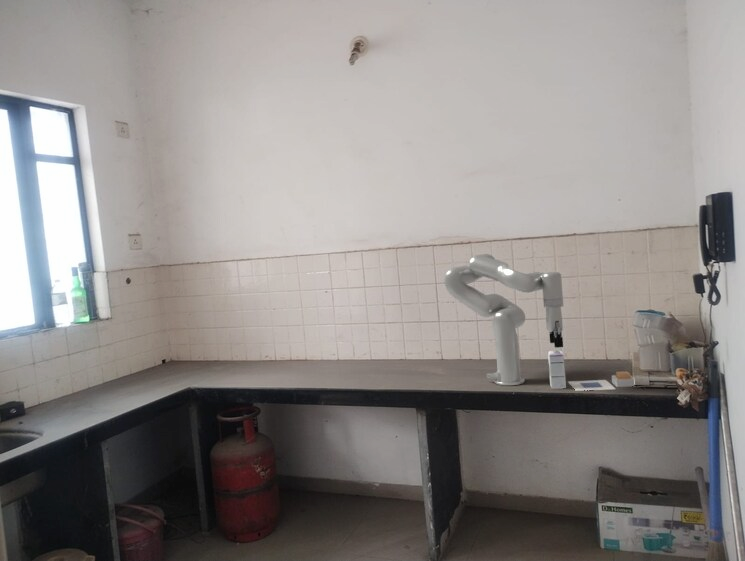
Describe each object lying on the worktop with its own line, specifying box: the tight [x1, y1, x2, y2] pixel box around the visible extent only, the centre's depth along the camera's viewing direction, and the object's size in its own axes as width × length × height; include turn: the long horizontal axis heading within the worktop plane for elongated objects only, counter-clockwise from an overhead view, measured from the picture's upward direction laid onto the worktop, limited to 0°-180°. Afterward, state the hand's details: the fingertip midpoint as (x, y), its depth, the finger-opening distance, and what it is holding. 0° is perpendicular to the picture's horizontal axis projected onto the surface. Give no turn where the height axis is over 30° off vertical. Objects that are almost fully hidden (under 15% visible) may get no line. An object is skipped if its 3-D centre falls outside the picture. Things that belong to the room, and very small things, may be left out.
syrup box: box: [547, 350, 567, 390], centre depth 226 cm, size 6×6×14 cm
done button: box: [615, 370, 632, 379], centre depth 222 cm, size 4×4×2 cm
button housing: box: [611, 374, 635, 388], centre depth 223 cm, size 7×7×3 cm
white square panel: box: [567, 379, 617, 392], centre depth 224 cm, size 15×14×1 cm
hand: (556, 345), depth 225 cm, fingers open, 9 cm apart
